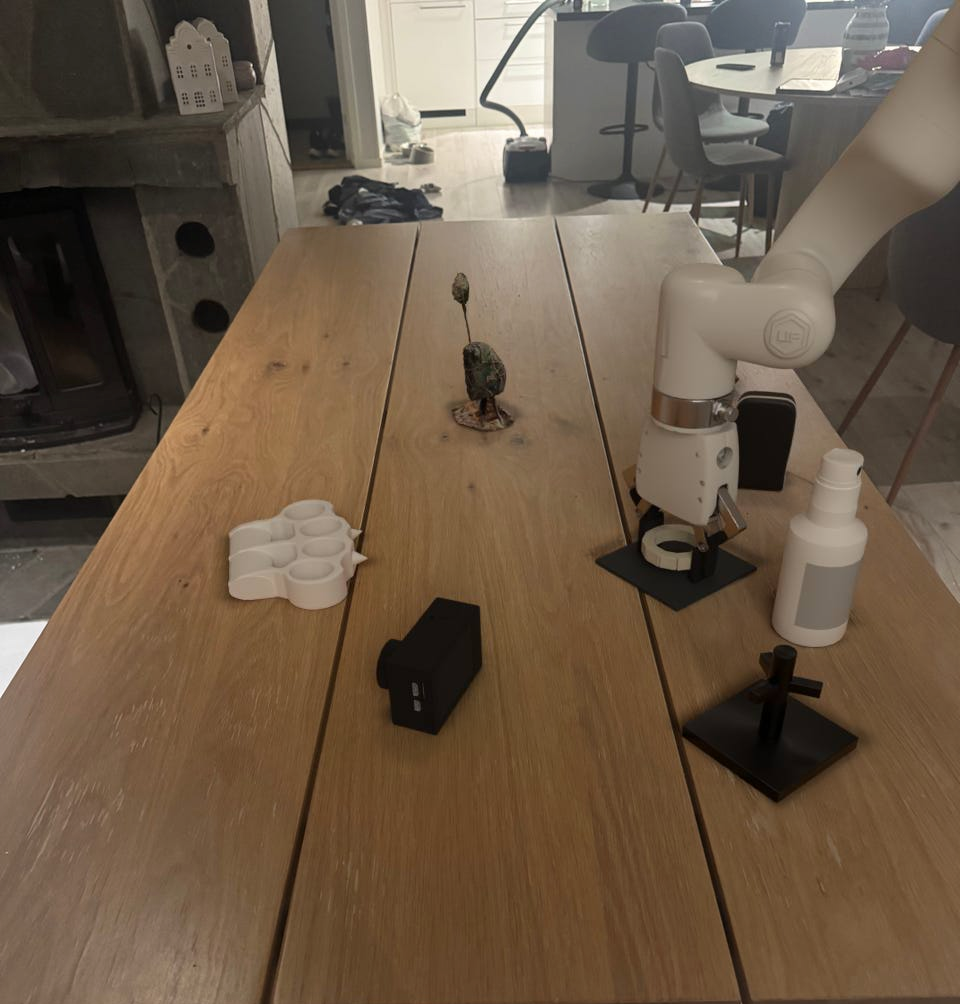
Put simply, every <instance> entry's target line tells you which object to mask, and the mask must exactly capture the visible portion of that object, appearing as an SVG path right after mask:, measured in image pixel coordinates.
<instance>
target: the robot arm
mask: <svg viewBox="0 0 960 1004" xmlns="http://www.w3.org/2000/svg"><path fill="white" fill-rule="evenodd" d="M959 182H960V0H954V1H953V3H952V4H951V6H950V7H949V8H948V9H947V11H946V12H945V14H944V15H943V16H942V18H941V19H940V21H939V22H938V24H937V25H936V27H934V29H933V31H932V32H931V33H930V34H929V36H928V37H927V38H926V40H925V42H924V43H923V45H922V46H921V47H920V49H919V50H918V51H917V53H916V54H915V55H914V57H913V59H912V60H911V61H910V63H909V64H908V65H907V67H906V69H905V70H904V71H903V73H902V74H901V75H900V77H899V78H898V79H897V81H896V82H895V84H894V85H893V86H892V87H891V89H890V90H889V92H888V93H887V94H886V95H885V97H884V98H883V100H882V101H881V102H880V104H879V106H878V107H877V108H876V109H875V111H874V112H873V114H871V116H870V117H869V119H868V121H867V122H866V123H865V125H863V127H862V128H861V130H860V131H859V132H858V133H857V135H856V137H854V138H853V140H852V141H851V142H850V143H849V144H848V146H846V148H845V149H844V151H843V152H842V153H841V155H840V156H839V158H838V159H837V160H836V162H834V164H833V166H832V167H831V168H830V170H829V171H827V173H826V174H824V176H823V178H822V179H821V180H820V181H819V182H818V184H817V185H816V186H815V187H814V189H813V190H811V192H810V194H809V195H808V196H807V197H806V198H805V200H804V201H803V203H802V204H801V205H800V206H799V208H798V209H797V211H796V212H795V213H794V215H793V216H792V217H791V219H790V221H789V222H788V223H787V225H786V226H785V227H784V229H783V230H782V231H781V233H780V234H779V236H778V237H777V238H776V240H775V241H774V243H773V244H772V246H771V247H770V248H769V250H768V251H767V252H766V254H765V256H764V257H763V258H762V260H761V261H760V263H759V265H758V266H757V268H756V269H755V271H754V273H753V275H752V277H751V279H750V282H747V281H746V279H745V277H744V276H743V274H742V273H741V272H739V270H738V269H736V268H734V267H731V266H728V265H725V264H719V263H711V262H710V263H709V262H694V263H688V264H683V265H680V266H679V265H678V266H676V267H673V268H672V269H670V270H669V271H668V272H667V273H666V274H665V275H664V277H663V278H662V281H661V284H660V289H659V296H658V311H657V313H658V314H657V323H656V337H655V349H654V350H655V351H654V364H653V365H654V366H653V375H652V388H651V389H652V390H651V391H652V392H651V402H650V407H649V408H648V409H647V412H646V414H645V418H644V422H643V426H642V429H641V433H640V439H639V442H638V450H637V457H636V462H635V463H634V464H632V465H630V466H628V467H627V468H625V469H623V470H622V477H623V479H624V482H625V484H626V486H627V488H628V489H629V491H628V493H629V496H630V499H631V500H632V503H633V504H634V507H635V509H634V515H635V517H636V518H637V519H639V521H638V533H637V541H638V544H637V551H638V552H639V553H641V554H643V553H642V551H641V547H642V539H643V537H644V535H645V533H646V532H648V531H649V530H651V529H653V528H655V527H658V526H660V525H665V512H667V513H669V514H671V515H673V516H675V517H677V518H678V519H681V520H682V521H685V522H687V523H689V524H691V525H692V528H693V530H694V533H695V537H696V541H697V545H698V547H696V548H694V549H693V551H692V559H691V568H690V577H689V579H690V581H691V582H693V583H694V584H695V583H698V582H700V581H702V580H704V579H705V578H707V577H709V576H711V575H713V574H714V572H715V570H716V563H717V556H718V548H719V546H721V545H723V544H724V543H727V542H729V541H730V540H732V539H734V538H735V537H736V536H738V535H740V534H741V533H742V532H744V531H745V530H746V529H747V528H748V524H747V521H746V519H745V518H744V517H743V515H742V513H741V511H740V510H739V508H738V506H737V498H738V497H737V495H738V488H739V487H738V472H739V444H738V433H737V426H736V423H735V422H734V421H735V420H736V419H737V417H738V414H739V410H738V409H737V408H736V407H734V406H733V399H734V391H735V385H736V383H735V377H736V375H737V369H738V362H739V361H741V362H745V363H749V364H753V365H757V366H760V367H761V366H762V367H765V368H771V369H777V370H793V369H794V370H796V369H800V368H803V367H806V366H808V365H810V364H812V363H814V362H815V361H817V360H818V359H820V358H821V357H822V356H823V355H824V354H825V352H826V351H827V350H828V349H829V347H830V345H831V343H832V341H833V338H834V336H835V333H836V332H835V331H836V325H837V323H836V322H837V321H836V320H837V319H836V309H835V300H834V296H835V295H836V293H837V292H838V291H839V289H840V288H841V287H842V285H843V284H844V283H845V282H846V280H847V279H848V278H849V277H850V275H851V274H852V273H853V271H854V270H855V269H856V268H857V267H858V265H859V264H860V263H861V262H862V261H863V260H864V258H865V257H866V255H867V254H868V253H869V252H870V251H871V250H872V248H873V247H874V246H875V245H876V244H877V243H878V242H879V241H880V240H881V239H882V238H883V237H884V236H885V235H886V234H887V233H888V232H889V231H890V230H891V229H893V228H894V227H895V226H896V225H897V224H899V223H900V222H901V221H903V220H904V219H906V218H907V217H910V216H911V215H914V214H915V213H918V212H920V211H923V210H924V209H926V208H927V209H928V207H931V206H933V205H934V204H936V203H938V202H939V201H940V200H941V199H943V198H944V197H946V196H947V195H948V194H949V193H950V192H952V190H954V189H955V187H956V186H957V185H958V183H959ZM664 511H665V512H664ZM721 519H722V520H723V522H724V527H723V522H722V520H721ZM707 525H708V527H709V530H710V533H711V535H709V534H708V531H707V527H706V526H707ZM661 544H662V543H659V544H657V545H656V546H658V547H659V546H660V545H661Z"/></svg>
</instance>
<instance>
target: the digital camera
mask: <svg viewBox="0 0 960 1004" xmlns="http://www.w3.org/2000/svg"><path fill="white" fill-rule="evenodd" d="M481 622H482V621H481V606H480V605H478V604H475V603H468V602H464V601H459V600H455V599H450V598H444V597H441V596H437V597H435V598H434V599H433V601H432V602H431V603H430V605H428V607H427V608H426V609H425V611H424V612H423V614H421V616H420V617H419V619H417V620H416V622H415V623H414V625H413V626H412V627H411V628H410V630H409V631H408V632H407V634H406V635H405V636H404V638H403V639H402V640H400V639H396V638H391V639H388V640H387V641H386V642H385V644H384V645H383V647H382V648H381V650H380V652H379V655H378V659H377V663H376V666H375V667H376V669H375V679H376V684H377V685H378V687H379V688H381V689H382V690H383V689H384V690H388V697H389V704H390V705H389V706H390V713H391V720H392V724H393V725H395V726H399V727H403V728H406V729H411V730H415V731H417V732H422V733H425V734H430V735H432V736H438V734H439V733H440V731H441V729H442V728H443V726H444V725H445V724H446V722H447V720H448V719H449V717H450V716H451V714H452V713H453V711H454V710H455V709H456V707H457V705H458V704H459V702H460V701H461V699H462V698H463V696H464V694H465V693H466V691H467V690H468V688H469V687H470V685H471V684H472V682H473V681H474V679H475V678H476V676H477V675H478V674H479V672H480V670H481V669H482V668H483V645H482V625H481V624H482V623H481Z"/></svg>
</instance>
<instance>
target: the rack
mask: <svg viewBox="0 0 960 1004" xmlns="http://www.w3.org/2000/svg"><path fill="white" fill-rule="evenodd" d="M797 659H798V650H797V648H795V647H794V646H792V645H789V644H778V645H776V646H775V647H773V650H772V651H767V652H760V653H759V658H758V664H759V665H760V667H761V669H762V671H763V672H764V674H765V676H766V679H764V678H760V679H759V680H756V681H755V682H753V683H752V684H750V685H748V686H747V687H745V688H743V689H742V690H740V691H738V692H737V693H735V694H733V695H732V696H730V697H728V698H727V699H725V700H723V701H722V702H720V703H718V704H717V705H715V706H713V707H712V708H710V709H709V710H706V711H705V712H703V713H702V714H700V715H698V716H697V717H695V718H694V719H692V720H690V721H688V722H687V723H685V724H683V725H682V731H681V737H682V738H684V739H686V741H688V742H689V743H691V744H692V745H694V746H695V747H696V748H698V749H699V750H701V751H702V752H704V753H705V754H707V755H708V756H709V757H710V758H712V759H714V760H715V761H716V762H718V763H719V764H720V765H722V766H723V767H724V768H726V769H727V770H729V771H730V772H731V773H733V774H735V775H736V776H737V777H739V778H740V779H741V780H743V781H744V782H746V783H747V784H748V785H750V786H751V787H752V788H754V789H755V790H757V791H758V792H760V793H761V794H763V795H764V796H765V797H767V798H768V799H769V800H770V801H772V802H774V803H775V804H778V803H780V802H781V801H783V800H784V799H786V797H788V796H790V795H791V794H792V793H794V792H795V791H797V790H798V789H799V788H802V786H804V785H805V784H807V783H808V782H810V781H812V779H814V778H816V777H817V776H818V775H820V774H821V773H822V772H825V770H827V769H828V768H830V767H831V766H832V765H834V764H835V763H837V762H838V761H840V760H841V759H842V758H844V757H845V756H847V755H849V754H850V753H851V752H852V751H854V750H855V749H856V748H857V746H858V743H859V739H860V737H859V736H857V735H855V734H854V733H852V732H851V731H849V730H847V729H846V728H844V727H843V726H841V725H840V724H838V723H836V722H834V721H832V719H829V718H827V717H826V716H824V715H823V714H821V713H820V712H818V711H816V710H814V709H813V708H812V707H810V706H808V705H807V704H805V703H803V702H802V701H800V700H798V699H797V698H795V697H794V696H792V695H790V693H791V694H796V695H800V696H806V697H810V698H813V699H818V700H819V699H821V695H822V691H823V686H824V682H823V681H820V680H816V679H810V678H805V677H801V676H797V675H794V673H795V668H796V662H797Z"/></svg>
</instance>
